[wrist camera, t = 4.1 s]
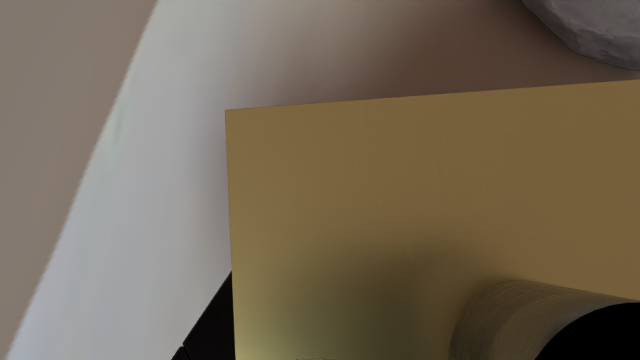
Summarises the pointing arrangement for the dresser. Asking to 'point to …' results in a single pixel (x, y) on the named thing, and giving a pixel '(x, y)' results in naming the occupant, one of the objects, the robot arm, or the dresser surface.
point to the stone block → (595, 28)
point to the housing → (439, 226)
